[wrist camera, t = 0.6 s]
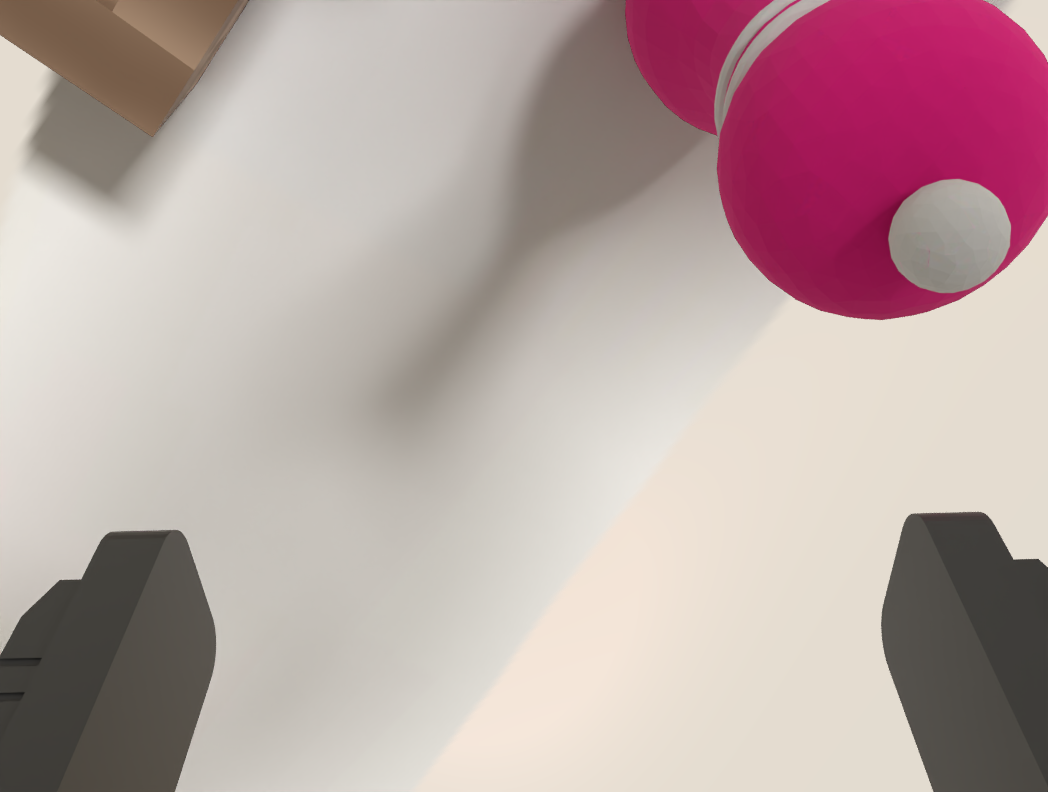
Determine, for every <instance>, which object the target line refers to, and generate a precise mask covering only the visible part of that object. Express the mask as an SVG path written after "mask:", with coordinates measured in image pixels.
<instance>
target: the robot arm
mask: <svg viewBox="0 0 1048 792" xmlns="http://www.w3.org/2000/svg"><path fill="white" fill-rule="evenodd" d="M881 627H882V628H881V629H882V641H883V648H884V653H885V657H886V661H887V664H888V667H889V670H890V673H891V676H892V678H893V681H894V684H895V686H896V689H897V692H898V695H899V698H900V701H901V703H902V706H903V709H904V712H905V714H906V717H907V720H908V723H909V725H910V728H911V731H912V734H913V736H914V739H915V742H916V745H917V747H918V750H919V753H920V756H921V758H922V761H923V764H924V766H925V770H926V772H927V775H928V778H929V781H930V783H931V786H932V789H933V791H934V792H1048V567H1046V566H1045V565H1044V564H1043V563H1042V562H1041V561H1040V560H1039V559H1020V560H1013V558H1012V556H1011V554H1010V553H1009V551H1008V549H1007V547H1006V545H1005V543H1004V542H1003V540H1002V538H1001V536H1000V534H999V532H998V531H997V529H996V527H995V525H994V524H993V522H992V521H991V519H990V518H989V517H988V516H987V515H986V514H984V513H982V512H962V513H961V512H959V513H921V514H911V515H909V516H908V517H907V519H906V521H905V522H904V526H903V529H902V532H901V536H900V541H899V544H898V548H897V552H896V557H895V560H894V564H893V568H892V572H891V576H890V580H889V584H888V588H887V592H886V596H885V600H884V604H883V609H882V622H881ZM215 654H216V634H215V626H214V621H213V618H212V614H211V611H210V608H209V605H208V602H207V599H206V596H205V593H204V590H203V587H202V584H201V581H200V578H199V575H198V572H197V569H196V566H195V563H194V560H193V557H192V554H191V551H190V548H189V545H188V542H187V540H186V538H185V536H184V535H183V534H182V533H181V532H180V531H178V530H161V531H121V532H110V533H108V534H107V535H105V537H104V538H103V539H102V540H101V542H100V544H99V545H98V547H97V549H96V551H95V553H94V555H93V557H92V559H91V561H90V563H89V565H88V567H87V569H86V571H85V573H84V575H83V577H82V579H81V580H59V581H58V582H57V583H56V584H55V585H54V586H53V587H52V588H51V589H50V590H49V591H48V592H47V593H46V594H45V595H44V596H43V597H42V598H41V599H40V600H38V601H37V602H36V603H35V604H34V605H33V606H32V607H31V608H30V609H29V610H28V611H27V612H26V613H25V614H24V615H23V616H22V617H21V619H20V620H19V622H18V624H17V626H16V628H15V630H14V631H13V633H12V635H11V637H10V639H9V641H8V642H7V644H6V646H5V648H4V650H3V652H2V653H1V655H0V792H175V789H176V786H177V783H178V780H179V777H180V774H181V771H182V767H183V764H184V761H185V758H186V755H187V752H188V749H189V746H190V743H191V739H192V736H193V733H194V730H195V727H196V724H197V721H198V718H199V715H200V711H201V708H202V705H203V702H204V699H205V696H206V693H207V690H208V687H209V683H210V680H211V677H212V673H213V669H214V663H215Z"/></svg>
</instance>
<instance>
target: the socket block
mask: <svg viewBox="0 0 1048 792" xmlns="http://www.w3.org/2000/svg"><path fill="white" fill-rule="evenodd" d="M248 1H249V0H0V35H1V36H3V37H4V38H5V39H7V40H8V41H10V42H11V43H13V44H14V45H16V46H17V47H19V48H20V49H22V50H23V51H25V52H26V53H28V54H29V55H31V56H32V57H34V58H35V59H37V60H38V61H40V62H41V63H43V64H44V65H46V66H47V67H49V68H50V69H52V70H53V71H55V72H56V73H58V74H59V75H61V76H62V77H64V78H65V79H67V80H68V81H70V82H71V83H73V84H74V85H76V86H77V87H79V88H80V89H82V90H83V91H85V92H86V93H87V94H89V95H90V96H92V97H93V98H95V99H96V100H98V101H99V102H101V103H102V104H104V105H105V106H107V107H108V108H110V109H111V110H113V111H114V112H116V113H117V114H119V115H120V116H122V117H123V118H125V119H126V120H128V121H129V122H131V123H132V124H134V125H135V126H137V127H138V128H140V129H141V130H143V131H144V132H146V133H147V134H149V135H150V136H152V137H153V136H154V135H155V133H156V132H157V131H158V130H159V129H160V127H161V126H162V125H163V124H164V123H165V121H166V120H167V119H168V118H169V116H170V115H171V114H172V113H173V112H174V110H175V109H176V108H177V107H178V106H179V104H180V103H181V102H182V101H183V99H184V98H185V97H186V96H187V95H188V93H189V92H190V91H191V90H192V89H193V87H194V86H195V85H196V84H197V82H198V81H199V79H200V77H201V76H202V74H203V73H204V71H205V69H206V68H207V66H208V65H209V63H210V62H211V60H212V58H213V57H214V55H215V54H216V52H217V51H218V49H219V47H220V46H221V44H222V43H223V41H224V39H225V38H226V36H227V35H228V33H229V32H230V30H231V28H232V27H233V25H234V24H235V22H236V20H237V19H238V17H239V16H240V14H241V13H242V11H243V9H244V8H245V6H246V5H247V3H248Z"/></svg>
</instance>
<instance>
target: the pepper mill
mask: <svg viewBox="0 0 1048 792" xmlns="http://www.w3.org/2000/svg"><path fill="white" fill-rule="evenodd" d="M625 15H626V25H627V35H628V40H629V43H630V47H631V50H632V53H633V56H634V60H635V62H636V64H637V66H638V68H639V70H640V72H641V74H642V76H643V77H644V79H645V80H646V81H647V83H648V84H649V86H650V87H651V88H652V90H653V91H654V92H655V93H656V95H657V96H658V97H659V98H660V100H661V101H662V102H663V103H664V105H665V106H666V107H667V108H669V109H670V110H671V111H672V112H674V113H675V114H676V115H677V116H679V117H680V118H681V119H682V120H684V121H686V122H687V123H689V124H691V125H693V126H695V127H696V128H698V129H701V130H703V131H706V132H709V133H712V134H714V135H717V136H718V139H719V149H718V161H717V174H718V183H719V191H720V195H721V200H722V204H723V208H724V211H725V215H726V218H727V221H728V223H729V226H730V228H731V230H732V232H733V235H734V237H735V239H736V240H737V242H738V243H739V245H740V246H741V248H742V249H743V251H744V252H745V254H746V255H747V257H748V258H749V260H750V261H751V262H752V263H753V264H754V265H755V266H756V267H757V268H758V269H759V270H760V271H761V272H762V273H763V274H764V276H765V277H766V278H767V279H768V280H769V281H771V282H772V283H773V284H775V285H776V286H778V287H779V288H781V289H782V290H783V291H785V292H786V293H788V294H789V295H790V296H792V297H793V298H795V299H796V300H798V301H801V302H803V303H805V304H807V305H809V306H811V307H814V308H816V309H818V310H820V311H824V312H828V313H833V314H838V315H842V316H846V317H853V318H861V319H875V320H885V319H892V318H899V317H905V316H912V315H916V314H920V313H924V312H928V311H931V310H934V309H936V308H939V307H941V306H944V305H947V304H949V303H952V302H955V301H957V300H959V299H961V298H963V297H964V296H966V295H968V294H970V293H971V292H973V291H975V290H976V289H978V288H980V287H981V286H983V285H984V284H986V283H987V282H988V281H990V280H991V279H992V278H994V277H995V276H996V275H997V274H999V273H1000V272H1001V271H1002V270H1004V269H1005V268H1006V267H1007V266H1008V265H1009V264H1010V263H1011V262H1012V261H1013V260H1014V259H1015V258H1016V257H1017V256H1018V255H1019V254H1020V253H1021V252H1022V251H1023V250H1024V249H1025V247H1026V246H1027V245H1028V244H1029V243H1030V241H1031V240H1032V238H1033V237H1034V235H1035V234H1036V232H1037V231H1038V229H1039V228H1040V226H1041V225H1042V223H1043V222H1044V221H1045V219H1046V217H1047V216H1048V62H1047V60H1046V58H1045V56H1044V54H1043V53H1042V52H1041V50H1040V49H1039V48H1038V47H1037V45H1036V44H1035V43H1034V42H1033V40H1032V39H1031V38H1030V37H1029V35H1028V34H1027V33H1026V32H1025V30H1024V29H1023V28H1021V27H1020V26H1019V25H1018V24H1017V23H1015V22H1014V21H1013V20H1012V19H1010V18H1009V17H1008V16H1007V15H1005V14H1004V13H1003V12H1002V11H1000V10H999V9H998V8H997V7H995V6H994V5H992V4H990V3H988V2H985V1H983V0H626V9H625Z"/></svg>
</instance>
